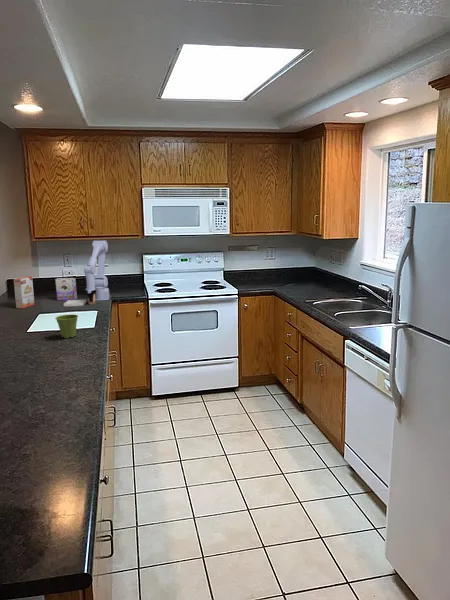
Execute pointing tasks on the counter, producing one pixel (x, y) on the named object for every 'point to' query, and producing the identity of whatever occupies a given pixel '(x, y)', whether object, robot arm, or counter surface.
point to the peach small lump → (93, 300)
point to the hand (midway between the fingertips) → (92, 301)
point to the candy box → (66, 289)
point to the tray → (74, 303)
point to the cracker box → (24, 292)
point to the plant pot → (67, 325)
